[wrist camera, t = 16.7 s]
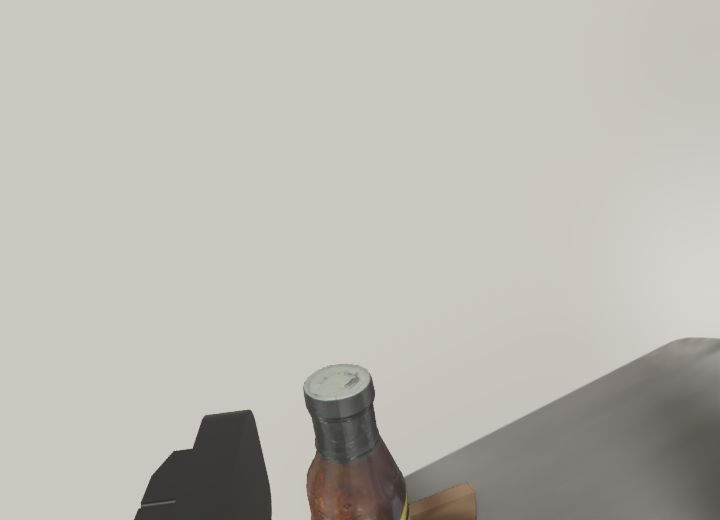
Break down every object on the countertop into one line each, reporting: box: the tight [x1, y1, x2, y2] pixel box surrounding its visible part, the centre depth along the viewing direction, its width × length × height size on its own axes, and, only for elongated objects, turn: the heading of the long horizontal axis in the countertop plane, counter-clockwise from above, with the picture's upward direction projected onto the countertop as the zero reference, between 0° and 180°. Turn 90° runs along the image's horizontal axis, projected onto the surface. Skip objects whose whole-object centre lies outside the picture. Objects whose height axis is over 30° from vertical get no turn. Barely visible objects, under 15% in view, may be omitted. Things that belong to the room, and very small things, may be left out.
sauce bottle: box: [303, 364, 411, 520], centre depth 37 cm, size 7×6×20 cm
